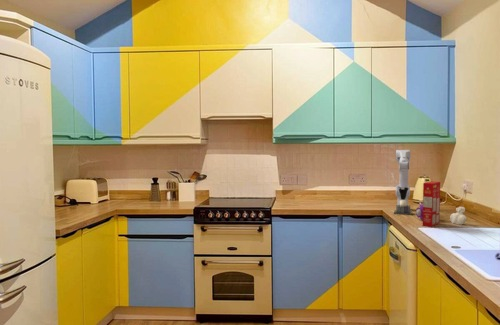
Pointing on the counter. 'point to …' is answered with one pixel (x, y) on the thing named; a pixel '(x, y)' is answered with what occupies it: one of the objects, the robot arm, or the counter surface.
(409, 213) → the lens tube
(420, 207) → the toy camera
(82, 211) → the counter surface
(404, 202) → the plug
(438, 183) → the food packaging
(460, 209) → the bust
